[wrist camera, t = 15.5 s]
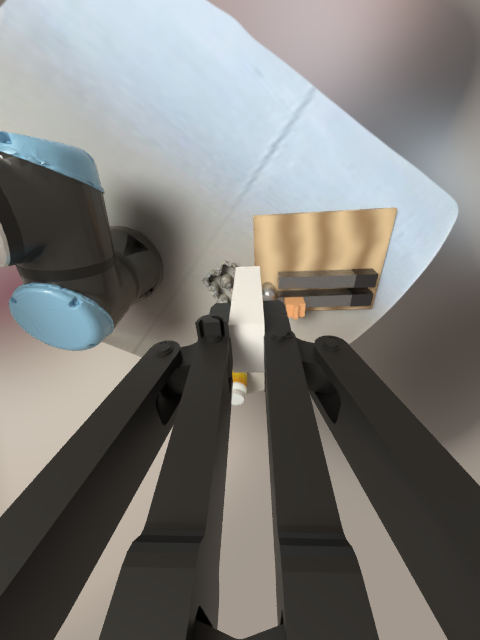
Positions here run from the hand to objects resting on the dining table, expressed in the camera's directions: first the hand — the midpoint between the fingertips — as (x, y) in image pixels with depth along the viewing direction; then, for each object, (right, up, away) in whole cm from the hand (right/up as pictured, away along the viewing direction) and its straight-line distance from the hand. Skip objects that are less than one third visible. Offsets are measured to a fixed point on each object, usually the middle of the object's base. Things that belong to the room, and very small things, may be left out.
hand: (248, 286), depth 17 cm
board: (+15, +9, +35) cm, 39 cm away
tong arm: (+16, +7, +34) cm, 39 cm away
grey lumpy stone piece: (-3, +6, +38) cm, 39 cm away
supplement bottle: (-1, -16, +52) cm, 54 cm away
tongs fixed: (+15, +4, +36) cm, 39 cm away
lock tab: (+10, +1, +35) cm, 36 cm away
